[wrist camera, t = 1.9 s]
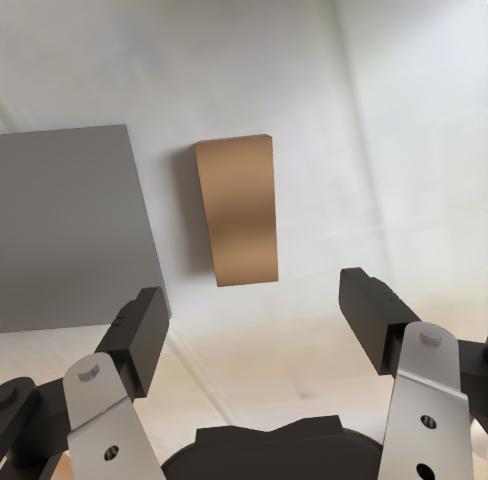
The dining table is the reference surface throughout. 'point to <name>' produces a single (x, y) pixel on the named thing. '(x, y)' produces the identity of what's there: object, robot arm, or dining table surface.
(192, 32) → the dining table surface
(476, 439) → the candlestick
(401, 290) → the dining table surface
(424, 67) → the dining table surface
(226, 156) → the walnut block
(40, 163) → the rubber mat
